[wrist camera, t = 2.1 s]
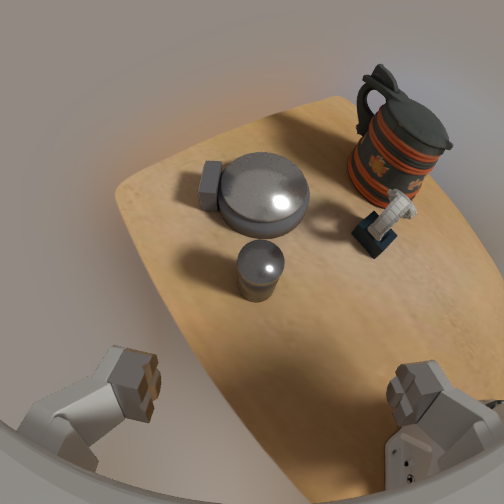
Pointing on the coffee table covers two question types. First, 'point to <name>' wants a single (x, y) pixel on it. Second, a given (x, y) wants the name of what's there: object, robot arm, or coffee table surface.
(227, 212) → the scale
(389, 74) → the beer stein
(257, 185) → the pan
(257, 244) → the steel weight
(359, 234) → the watch
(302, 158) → the coffee table surface
